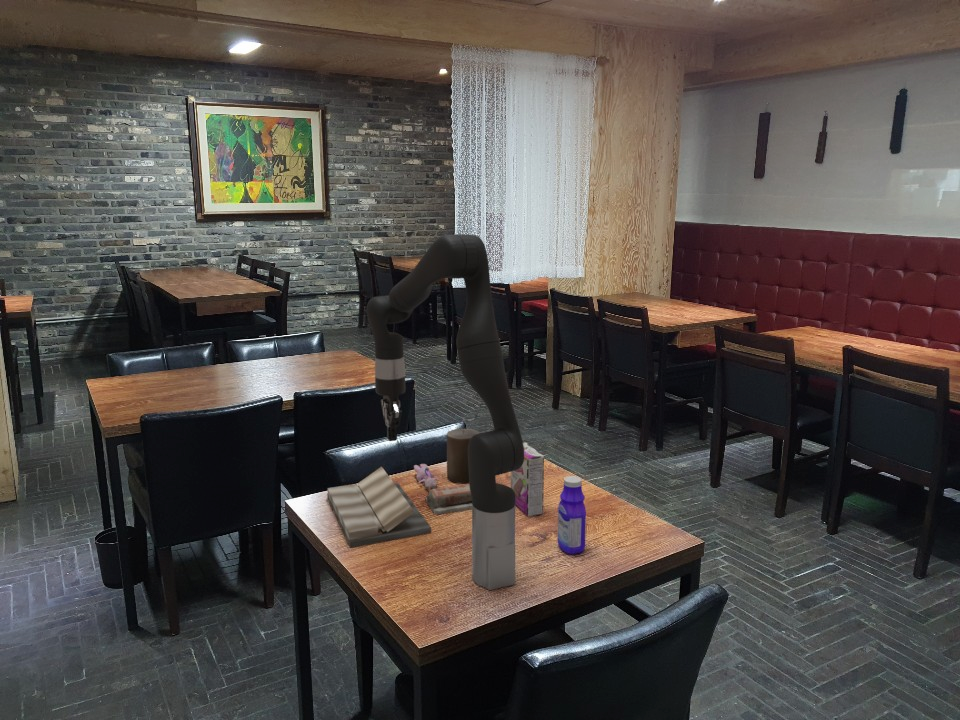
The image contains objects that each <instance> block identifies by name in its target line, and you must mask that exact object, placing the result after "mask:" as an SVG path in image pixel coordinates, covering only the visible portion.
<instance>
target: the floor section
mask: <svg viewBox="0 0 960 720" xmlns="http://www.w3.org/2000/svg"><path fill="white" fill-rule="evenodd" d="M393 483H394V484H395V485H396V487H397V488H398V490H399V491H400V492H401V494H402V495H403V496H404V498H405V499H406V501H407V502H408V503H409V505H410V506H411V508H412V509H413V510H414V513H413V514H411V515H410V516H409V517H407V518H406V519H405V520H403V521H402V522H401V523H399V524H398V525H397V526H395V527H394V528H393V529H391V530H390V531H388V532H387V531H385V532H383V531H382V530H381V529H382V526H381V524H380V522H379V521H378V519H377V517H376V516H375V514H374V512H373V510H372V509H371V507H370V505H369V504H368V502H367V500H366V499H365V497H364V495H363V494H362V492H361V490H360V489H359V487H358V486H359V485H358V483H352V484H345V485H340V486H339V485H338V486H334V487H333V486H332V487H327V493H326V494H327V497H326V498H327V501H328V500H329V501H328V502H329V505H330V507H331V509H332V511H334V512H333V513H335V514H334V516H335V515H336V516H335V517H337V518H336V519H337V522H338V524H339V526H340V528H342V529H341V530H342V532H343V535H344V537H345V539H346V541H347V544H348V546H349V548H350V549H351V548H357V547H363V546H368V545H372V544H379V543H383V542H385V543H386V542H389V541H394V540H400V539H406V538H410V537H411V538H412V537H416V535H417V536H422V535H426V534H431V533H432V527H431V525H430V524H429V523H428V521H427V520H426V519H425V516H423V515H422V513H421V512H420V510H419V509H418V508H417V506H416V505H415V504H414V502H413V501H412V499H410V497H409V495H408V494H407V493H406V491H405V490H404V488H402V486H401V485H400V484H399V482H393Z"/></svg>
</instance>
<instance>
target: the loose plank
mask: <svg viewBox="0 0 960 720" xmlns="http://www.w3.org/2000/svg"><path fill="white" fill-rule="evenodd" d="M394 483H395V482H393V480H392V478H391V477H390V476H389V474H388V473H387V472H386V470H385V469H384V467H382V466H380V467H379V468H377V469H376V470H375V471H373V472H372V473H370V474H369V475H368V476H366V477H365V478H363V479H362V480H360V481H359V482H358V483H357V485H358V487H359V489H360V490H361V492H362V494H363V495H364V497H365V499H366V500H367V502H368V504H369V505H370V507H371V509H372V510H373V512H374V514H375V516H376V517H377V519H378V521H379V522H380V524H381V526H382V529H381V530H382V531H383V532H385V531H387V532H388V531H390V530H391V529H393V528H394V527H395V526H397V525H398V524H399V523H401V522H402V521H403V520H405V519H406V518H407V517H409V516H410V515H411V514H413V513H414V510H413V509H412V508H411V506H410V505H409V503H408V502H407V501H406V499H405V498H404V496H403V495H402V494H401V492H400V491H399V490H398V488H397V487H396V485H395V484H394Z"/></svg>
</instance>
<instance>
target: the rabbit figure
mask: <svg viewBox="0 0 960 720" xmlns="http://www.w3.org/2000/svg"><path fill="white" fill-rule="evenodd" d="M413 469H414V471H415V473H416V476H415V478H416V480H417V481H418V482H417V484H421V483H424V488H425V490H427V492H429V490H431V489H437V488H439V485H438V483H437V481H440V479H439V478H435V477H434V474H433V472H432V471H431V470H430V468H429V466H428V465H427V464H426V463H421V464H419V465H417V464H415V465H413Z"/></svg>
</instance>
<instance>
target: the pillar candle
mask: <svg viewBox="0 0 960 720" xmlns="http://www.w3.org/2000/svg"><path fill="white" fill-rule="evenodd" d="M479 433H480V432H479V430H476V429H474V428H473V429H471V428H456V429H455V428H454V429H451V430H448V431H447V432H446V478H447V479H448V480H449V481H450V482H452V483H456V484H469V468H468V444H469V441H470V439H471V437H472V436H474V435H476V434H479Z"/></svg>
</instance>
